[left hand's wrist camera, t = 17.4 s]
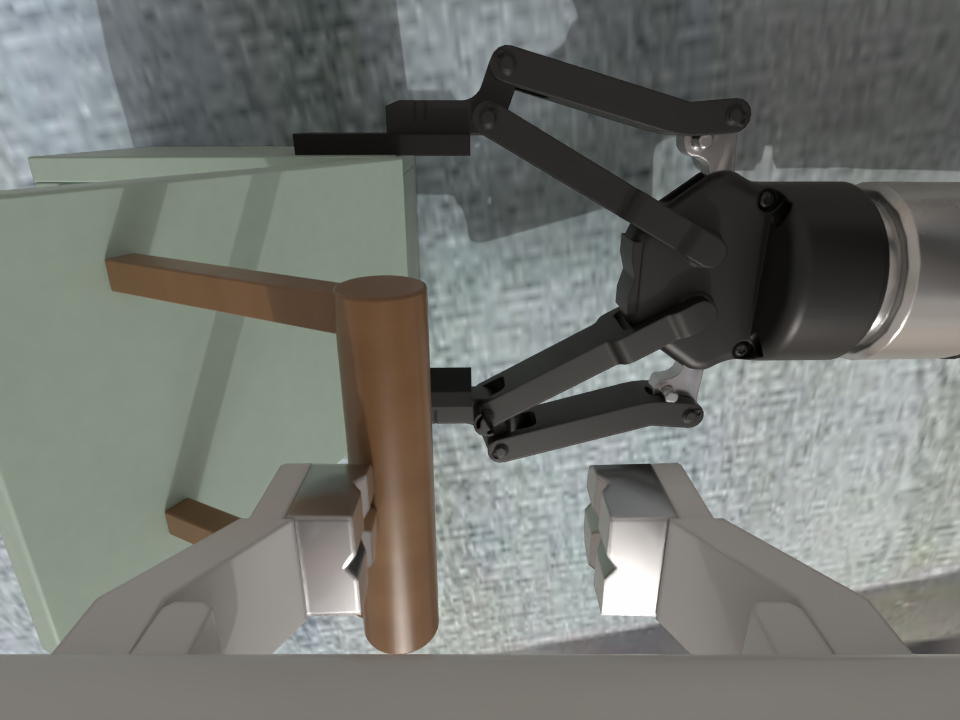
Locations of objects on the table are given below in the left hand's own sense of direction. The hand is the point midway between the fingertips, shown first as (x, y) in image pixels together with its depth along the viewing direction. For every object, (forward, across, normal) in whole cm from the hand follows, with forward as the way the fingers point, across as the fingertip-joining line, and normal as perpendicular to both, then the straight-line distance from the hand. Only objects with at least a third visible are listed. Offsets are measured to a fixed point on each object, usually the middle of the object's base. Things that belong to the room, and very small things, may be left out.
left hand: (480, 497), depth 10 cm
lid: (+7, -7, 0) cm, 10 cm away
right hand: (+16, -7, 0) cm, 18 cm away
